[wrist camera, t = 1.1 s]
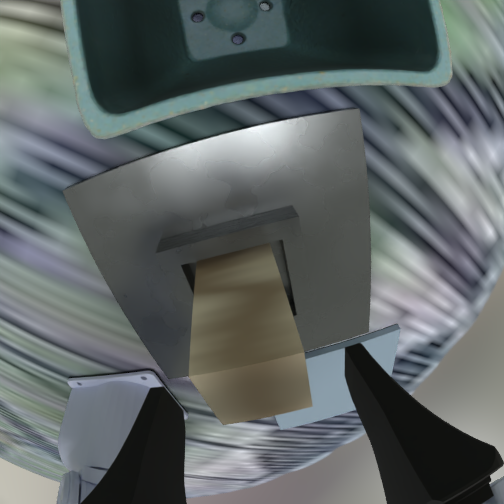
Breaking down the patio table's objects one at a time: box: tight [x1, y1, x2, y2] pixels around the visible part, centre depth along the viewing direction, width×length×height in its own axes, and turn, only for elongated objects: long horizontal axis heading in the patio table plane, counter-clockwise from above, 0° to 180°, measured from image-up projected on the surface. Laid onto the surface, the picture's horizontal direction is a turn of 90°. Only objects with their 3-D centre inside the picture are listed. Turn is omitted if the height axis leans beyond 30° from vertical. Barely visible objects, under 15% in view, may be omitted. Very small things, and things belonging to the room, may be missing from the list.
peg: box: [189, 243, 313, 425], centre depth 14 cm, size 4×4×8 cm
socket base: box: [63, 108, 371, 379], centre depth 17 cm, size 16×16×2 cm
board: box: [275, 324, 400, 430], centre depth 25 cm, size 12×12×1 cm
